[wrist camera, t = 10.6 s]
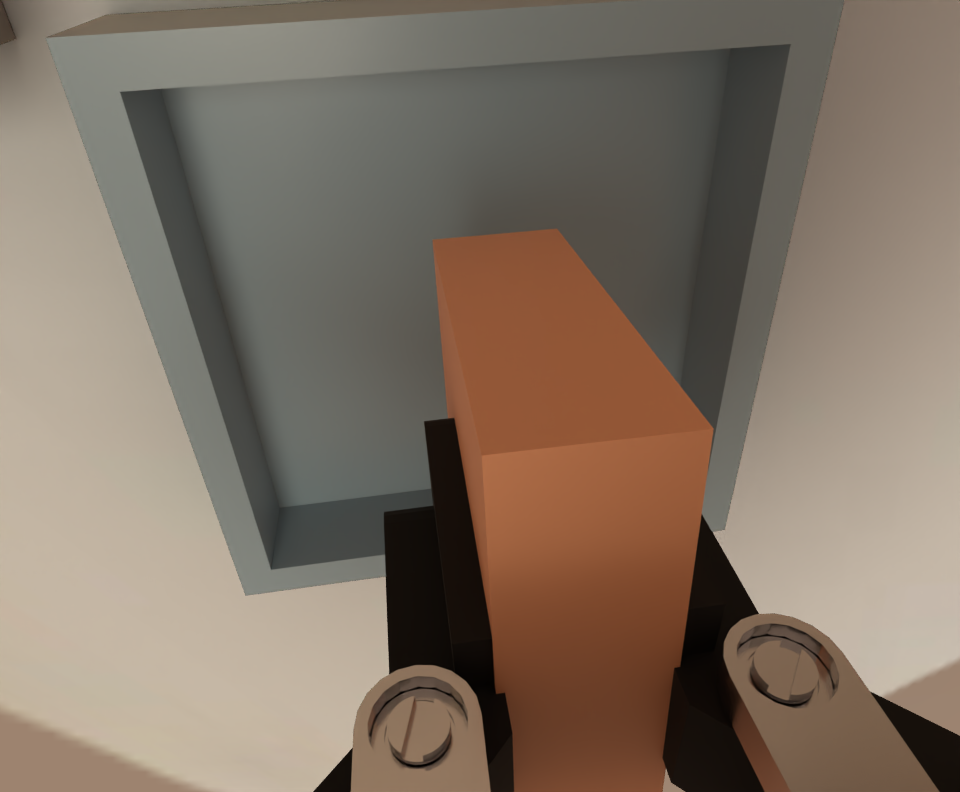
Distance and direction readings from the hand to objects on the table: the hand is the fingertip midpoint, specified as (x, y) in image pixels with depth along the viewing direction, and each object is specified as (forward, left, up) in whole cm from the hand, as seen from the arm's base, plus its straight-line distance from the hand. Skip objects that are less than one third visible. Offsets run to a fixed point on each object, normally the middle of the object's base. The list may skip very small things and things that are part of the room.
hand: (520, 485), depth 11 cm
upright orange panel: (0, +5, +1) cm, 6 cm away
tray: (0, 0, -7) cm, 7 cm away
